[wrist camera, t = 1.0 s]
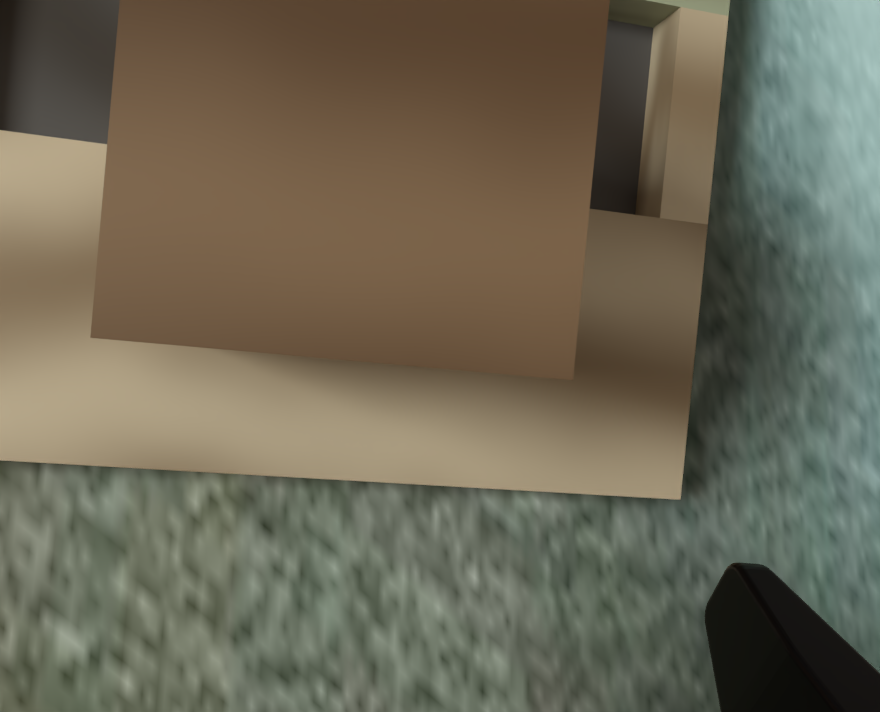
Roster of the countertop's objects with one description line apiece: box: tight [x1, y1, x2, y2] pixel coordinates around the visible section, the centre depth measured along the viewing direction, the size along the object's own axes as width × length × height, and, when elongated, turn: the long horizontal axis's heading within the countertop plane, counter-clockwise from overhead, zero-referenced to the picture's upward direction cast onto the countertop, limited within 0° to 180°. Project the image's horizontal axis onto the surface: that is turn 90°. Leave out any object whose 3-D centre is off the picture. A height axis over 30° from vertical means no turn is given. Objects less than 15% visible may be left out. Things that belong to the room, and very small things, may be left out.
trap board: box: [0, 0, 730, 500], centre depth 22 cm, size 20×22×4 cm
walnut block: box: [90, 0, 610, 380], centre depth 17 cm, size 7×7×10 cm
